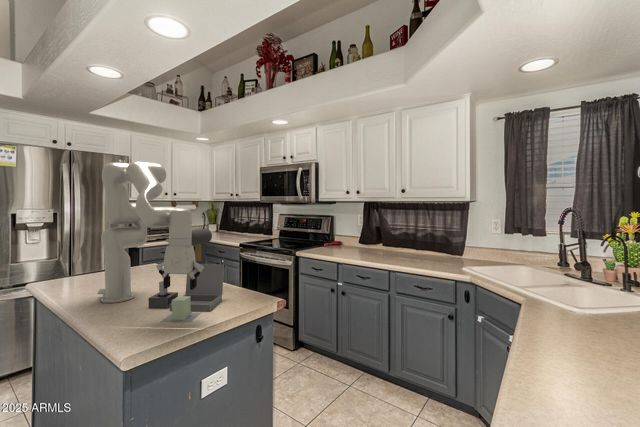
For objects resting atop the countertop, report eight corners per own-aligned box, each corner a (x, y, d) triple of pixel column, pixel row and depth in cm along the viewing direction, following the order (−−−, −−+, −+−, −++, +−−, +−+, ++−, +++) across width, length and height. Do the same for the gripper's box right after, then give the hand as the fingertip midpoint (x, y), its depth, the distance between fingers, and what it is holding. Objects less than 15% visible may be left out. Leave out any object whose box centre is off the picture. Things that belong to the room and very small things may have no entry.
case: (169, 311, 120) (169, 304, 120) (185, 301, 133) (185, 294, 133) (209, 312, 119) (209, 305, 119) (221, 301, 132) (221, 294, 132)
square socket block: (148, 309, 123) (148, 297, 123) (159, 302, 131) (159, 292, 131) (168, 309, 122) (167, 298, 122) (178, 302, 130) (178, 292, 130)
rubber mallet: (195, 295, 141) (194, 230, 140) (182, 293, 144) (182, 229, 143) (213, 288, 153) (213, 228, 152) (201, 286, 155) (201, 227, 154)
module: (171, 319, 111) (171, 300, 110) (179, 314, 116) (178, 296, 115) (184, 319, 110) (183, 300, 110) (190, 314, 115) (190, 296, 115)
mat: (160, 323, 109) (160, 321, 109) (173, 313, 118) (173, 312, 118) (190, 323, 108) (190, 322, 108) (201, 314, 117) (201, 313, 117)
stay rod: (158, 307, 125) (157, 282, 125) (162, 304, 128) (161, 280, 128) (165, 307, 125) (164, 282, 125) (169, 304, 128) (168, 281, 128)
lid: (187, 263, 134) (188, 263, 135) (185, 294, 133) (186, 294, 133) (223, 264, 134) (224, 264, 135) (221, 294, 132) (222, 294, 133)
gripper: (151, 242, 109) (151, 290, 110) (199, 244, 108) (198, 292, 109) (163, 239, 116) (162, 284, 117) (207, 241, 115) (207, 286, 116)
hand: (180, 288), depth 113 cm, fingers open, 9 cm apart
